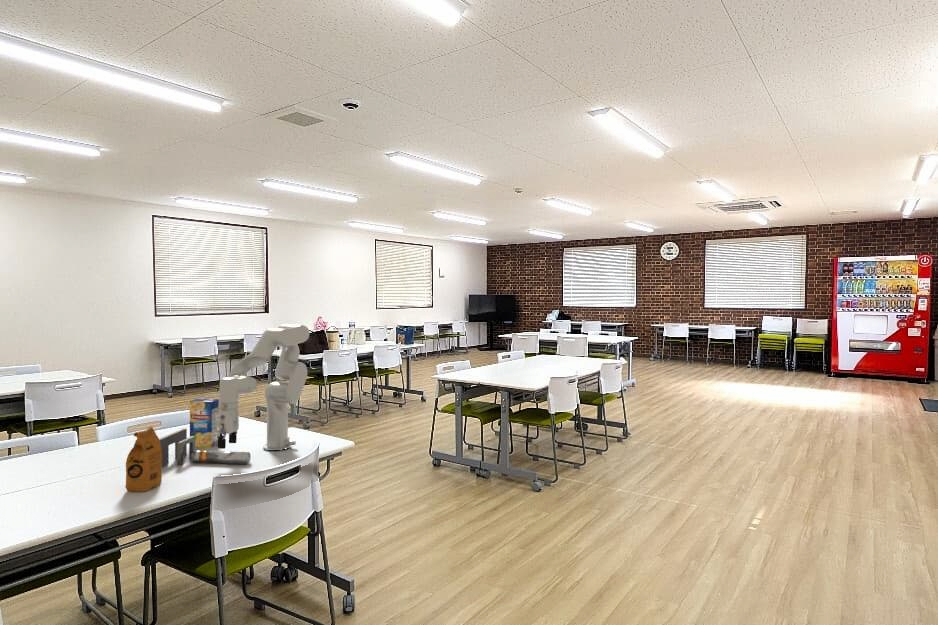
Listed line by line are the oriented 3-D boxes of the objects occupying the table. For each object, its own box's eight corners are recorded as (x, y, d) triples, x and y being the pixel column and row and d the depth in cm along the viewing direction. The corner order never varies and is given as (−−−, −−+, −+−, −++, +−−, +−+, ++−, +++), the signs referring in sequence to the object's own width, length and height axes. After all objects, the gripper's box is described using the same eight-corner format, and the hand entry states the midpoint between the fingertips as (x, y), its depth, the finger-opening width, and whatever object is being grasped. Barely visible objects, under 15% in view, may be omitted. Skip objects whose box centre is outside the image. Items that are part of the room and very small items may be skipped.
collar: (194, 458, 250) (195, 436, 249) (180, 465, 239) (180, 442, 238) (191, 457, 250) (191, 436, 249) (177, 465, 239) (177, 442, 238)
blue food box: (211, 447, 267) (211, 401, 266) (189, 446, 267) (189, 401, 267) (219, 443, 273) (219, 399, 273) (197, 443, 274) (197, 398, 273)
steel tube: (250, 462, 245) (250, 450, 245) (245, 465, 240) (245, 453, 240) (197, 460, 246) (197, 449, 246) (191, 463, 241) (191, 452, 241)
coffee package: (120, 492, 206) (120, 433, 205) (141, 481, 218) (140, 425, 218) (147, 493, 206) (147, 433, 205) (166, 481, 218) (166, 426, 217)
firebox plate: (186, 454, 255) (186, 428, 254) (159, 468, 234) (159, 440, 234) (183, 454, 255) (183, 428, 254) (155, 468, 234) (155, 439, 234)
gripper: (227, 409, 233) (225, 451, 233) (246, 403, 250) (244, 441, 250) (209, 409, 234) (208, 450, 234) (229, 402, 251) (228, 440, 251)
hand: (227, 445), depth 242 cm, fingers open, 9 cm apart
